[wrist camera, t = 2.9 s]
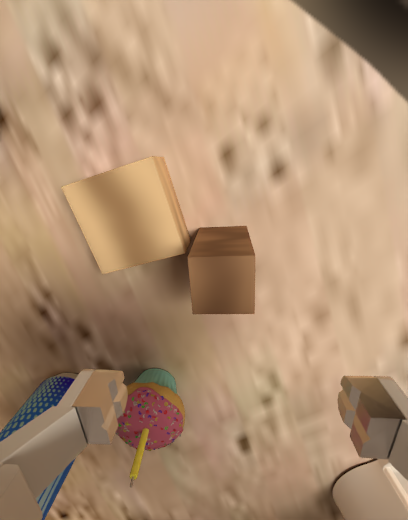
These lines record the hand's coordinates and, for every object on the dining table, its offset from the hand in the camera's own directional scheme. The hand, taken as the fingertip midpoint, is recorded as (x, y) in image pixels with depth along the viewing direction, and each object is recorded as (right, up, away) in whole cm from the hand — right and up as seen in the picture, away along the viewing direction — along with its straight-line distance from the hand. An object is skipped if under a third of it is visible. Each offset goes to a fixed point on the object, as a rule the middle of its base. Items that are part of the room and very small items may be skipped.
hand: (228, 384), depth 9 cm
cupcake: (-7, -11, +23) cm, 26 cm away
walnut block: (+1, +6, +15) cm, 17 cm away
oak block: (-7, +9, +15) cm, 19 cm away
